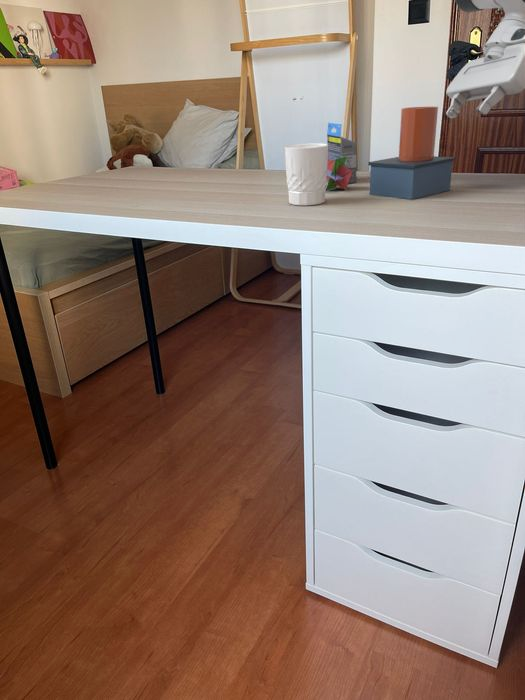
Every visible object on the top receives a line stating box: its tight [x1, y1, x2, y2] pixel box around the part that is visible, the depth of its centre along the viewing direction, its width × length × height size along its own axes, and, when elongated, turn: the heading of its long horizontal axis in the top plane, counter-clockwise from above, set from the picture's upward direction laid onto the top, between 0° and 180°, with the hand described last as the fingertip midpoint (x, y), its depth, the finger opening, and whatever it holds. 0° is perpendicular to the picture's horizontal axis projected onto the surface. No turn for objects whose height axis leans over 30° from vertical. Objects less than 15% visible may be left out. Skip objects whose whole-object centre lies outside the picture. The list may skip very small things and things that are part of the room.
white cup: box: [283, 142, 328, 207], centre depth 97 cm, size 8×8×10 cm
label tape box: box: [326, 121, 358, 184], centre depth 117 cm, size 9×4×12 cm, turn 13°
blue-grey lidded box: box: [367, 155, 456, 200], centre depth 102 cm, size 13×11×6 cm
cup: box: [398, 106, 439, 161], centre depth 98 cm, size 6×6×9 cm
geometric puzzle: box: [325, 157, 353, 192], centre depth 108 cm, size 7×7×8 cm
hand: (464, 114), depth 102 cm, fingers open, 8 cm apart
